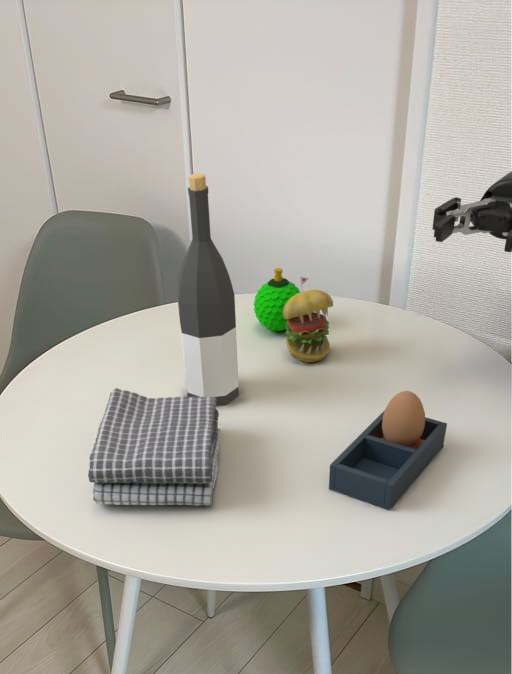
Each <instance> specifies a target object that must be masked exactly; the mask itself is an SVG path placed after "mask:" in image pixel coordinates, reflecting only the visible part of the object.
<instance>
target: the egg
mask: <svg viewBox="0 0 512 674" xmlns="http://www.w3.org/2000/svg"><path fill="white" fill-rule="evenodd" d="M384 410H385V411H384ZM384 410H383V411H384V415H383V421H382V431H383V435H384V437H385V439H386V440H387V441H390V442H393V443H397V444H400V445H403V446H407V447H412V446H413V445H414V444H416V443H417V442H418V440H419V439H420V438H421V436H422V434H423V431H424V426H425V417H426V411H425V408H424V405H423V403H422V401H421V399H420V398H419V396H418V395H417V394H416V393H415V392H412V391H410V390H403V391H400V392H398V393H397V394H395V395H394V396H393V397H392V398H391V399H390V400H389V402H388V404H387V406H386V407H385V409H384Z"/></svg>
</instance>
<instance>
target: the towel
mask: <svg viewBox="0 0 512 674" xmlns="http://www.w3.org/2000/svg"><path fill="white" fill-rule="evenodd" d="M219 415H220V414H219V411H218V409H217V406H216V398H215V397H200V398H199V397H188V396H184V397H180V396H176V397H172V396H170V397H169V396H168V397H159V398H155V397H147V396H145V395H140V394H138V393H137V392H133V391H132V392H131V391H129V390H126V389H125V390H122V389H121V388H117V387H116V388H113V389H112V391H111V392H110V394H109V397H108V401H107V404H106V408H105V410H104V413H103V417H102V419H101V422H100V423H99V426H98V432H97V434H96V438H95V441H94V443H93V445H92V446H93V448H92V450H91V453H90V454H89V469H88V474H87V476H88V481H89V483H93V484H94V485H93V489H92V494H93V495H92V500H93V501H94V503H96V504H102V505H103V504H105V505H116V506H122V505H124V506H130V505H132V506H147V505H149V506H175V505H177V506H184V505H185V506H196V507H199V506H211V505H212V503H213V501H212V496H213V494H212V493H213V491H214V488H215V484H216V481H217V478H218V477H217V476H218V474H219V463H218V462H219V461H218V454H219V450H220V436H221V429H220V428H219V427H218V426H219V417H220V416H219Z"/></svg>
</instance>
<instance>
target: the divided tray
mask: <svg viewBox="0 0 512 674" xmlns="http://www.w3.org/2000/svg"><path fill="white" fill-rule="evenodd" d="M384 411H385V409H384V410H383V411H382V412H381V413H380V414H379V415H378V416H377V417H376V418H375V419H374V420H373V421H372V422H371V423H370V424H369V425H368V426H367V427H366V428H365V429H364V430H363V431H362V432H361V433H360V434H359V435H358V436H357V437H356V438H355V439H354V440H353V441H352V442H351V443H350V444H349V445H348V446H347V447H346V448H345V449H344V450H343V451H342V452H341V453H340V454H339V455H338V456H337V457H336V458H335V459H334V460H333V461H332V462H331V463H330V464H329V477H328V490H331V491H333V492H336V493H338V494H341V495H345V496H347V497H350V498H354V499H356V500H359V501H362V502H364V503H367V504H370V505H373V506H375V507H378V508H382V509H384V510H387V511H391V510H392V509H393V507H395V505H396V504H397V503H398V502H399V500H400V499H401V498H402V497H403V496H404V495H405V493H406V492H407V491H408V490H409V488H411V486H412V485H413V484H414V483H415V482H416V480H417V479H418V478H419V477H420V476H421V474H422V473H423V472H424V471H425V470H426V469H427V467H428V466H429V465H430V463H431V462H432V461H433V460H434V459H435V458H436V456H437V455H439V453H440V452H441V451H442V450H443V448H444V447H445V439H446V432H447V427H448V422H444V421H441V420H437V419H433V418H430V417H426V416H425V426H424V431H423V434H422V436H421V438H420V439H419V440H418V442H417V443H416V444H414V445H413V446H412V447H407V446H403V445H400V444H397V443H393V442H390V441H387V440H386V439H385V437H384V435H383V431H382V421H383V415H384Z"/></svg>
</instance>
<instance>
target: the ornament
mask: <svg viewBox="0 0 512 674" xmlns="http://www.w3.org/2000/svg"><path fill="white" fill-rule="evenodd" d="M273 272H274V278H271V279H269V281H267V282H265V283H263V284H261V287H260V288H259V289H258V290H257V293H255V295H254V301H253V306H254V308H253V312H254V314H255V318H256V319H257V320H258V321H259V323H260V324H261V325H262V326H263V327H265V328H266V329H267V330H271V331H275V332H281V331H285V330H286V328H285V324H286V322H287V321H289V319H285V318H284V316H283V309H284V305H285V304H286V302H287V301H288V300H289V299H290V298H291V297H293V296H294V295H296V294H298V293H300V292H301V291H300V289H299V287H297V286H296V284H295V283H294V282H291V281H289V280H288V278H285V277H283V276H282V274H283V272H284V270H283V268H282V267H276V268H274V271H273Z"/></svg>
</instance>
